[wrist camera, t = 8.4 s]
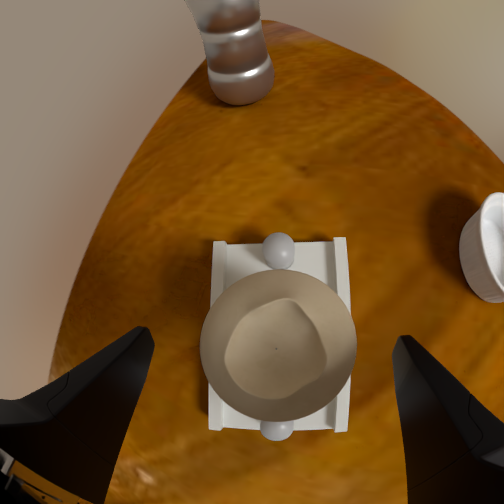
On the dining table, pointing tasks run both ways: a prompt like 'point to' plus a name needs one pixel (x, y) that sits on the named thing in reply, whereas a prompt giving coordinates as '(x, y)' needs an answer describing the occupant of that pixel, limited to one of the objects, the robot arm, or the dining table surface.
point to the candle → (278, 345)
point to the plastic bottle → (234, 49)
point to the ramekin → (485, 249)
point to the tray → (306, 263)
